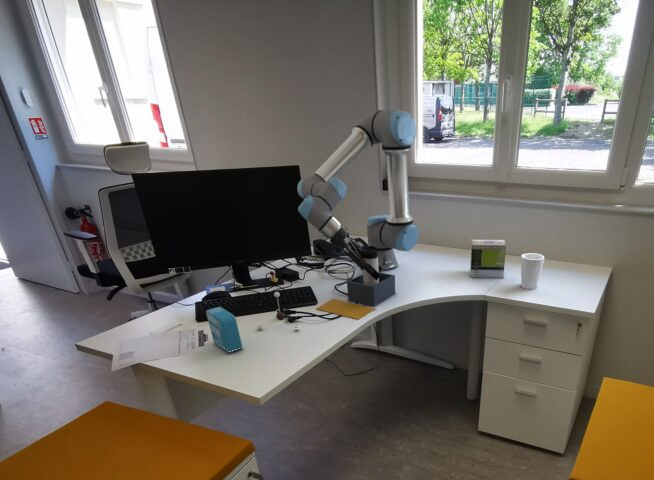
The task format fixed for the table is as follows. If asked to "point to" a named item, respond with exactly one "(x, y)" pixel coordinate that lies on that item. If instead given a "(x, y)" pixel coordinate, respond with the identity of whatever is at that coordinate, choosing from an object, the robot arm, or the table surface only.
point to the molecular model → (278, 315)
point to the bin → (371, 290)
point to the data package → (224, 329)
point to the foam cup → (530, 269)
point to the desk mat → (345, 309)
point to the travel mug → (371, 258)
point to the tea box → (487, 258)
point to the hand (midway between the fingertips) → (379, 274)
